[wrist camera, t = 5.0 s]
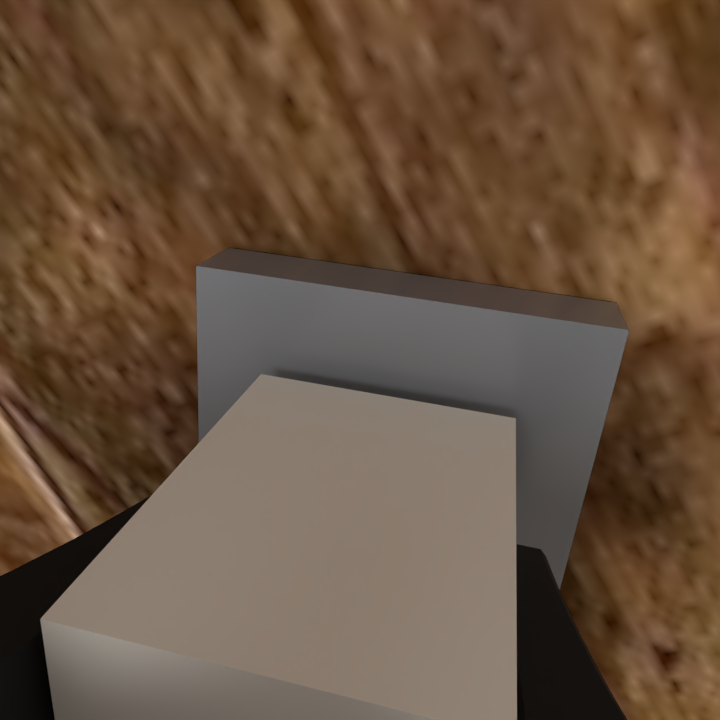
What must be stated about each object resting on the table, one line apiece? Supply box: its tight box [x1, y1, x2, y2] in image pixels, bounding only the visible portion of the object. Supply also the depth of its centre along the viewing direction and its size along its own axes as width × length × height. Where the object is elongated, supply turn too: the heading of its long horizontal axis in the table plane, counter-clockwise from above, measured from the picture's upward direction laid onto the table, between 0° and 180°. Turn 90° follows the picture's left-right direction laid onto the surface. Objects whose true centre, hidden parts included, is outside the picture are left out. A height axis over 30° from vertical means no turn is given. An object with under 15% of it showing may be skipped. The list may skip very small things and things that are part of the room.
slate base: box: [196, 248, 629, 590], centre depth 13 cm, size 8×8×2 cm
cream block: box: [40, 374, 517, 720], centre depth 9 cm, size 4×4×6 cm
